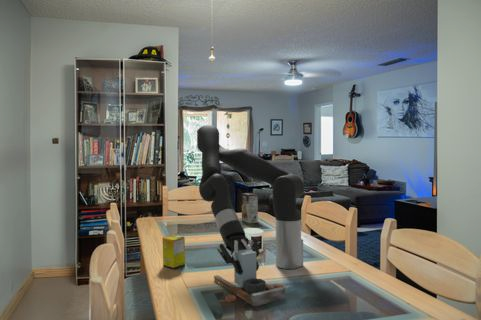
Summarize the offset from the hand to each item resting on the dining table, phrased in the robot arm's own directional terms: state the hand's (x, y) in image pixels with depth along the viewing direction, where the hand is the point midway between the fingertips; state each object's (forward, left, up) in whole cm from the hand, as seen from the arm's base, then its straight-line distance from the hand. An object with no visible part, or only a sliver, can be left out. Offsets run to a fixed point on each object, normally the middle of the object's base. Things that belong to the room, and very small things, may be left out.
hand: (248, 271), depth 120 cm
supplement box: (+11, -35, -6) cm, 37 cm away
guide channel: (0, -2, -6) cm, 6 cm away
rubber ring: (0, +3, -6) cm, 7 cm away
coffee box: (-56, -90, -6) cm, 106 cm away
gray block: (0, -2, -4) cm, 5 cm away
